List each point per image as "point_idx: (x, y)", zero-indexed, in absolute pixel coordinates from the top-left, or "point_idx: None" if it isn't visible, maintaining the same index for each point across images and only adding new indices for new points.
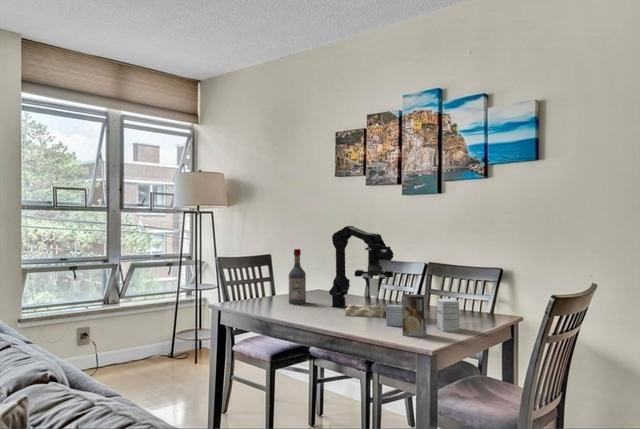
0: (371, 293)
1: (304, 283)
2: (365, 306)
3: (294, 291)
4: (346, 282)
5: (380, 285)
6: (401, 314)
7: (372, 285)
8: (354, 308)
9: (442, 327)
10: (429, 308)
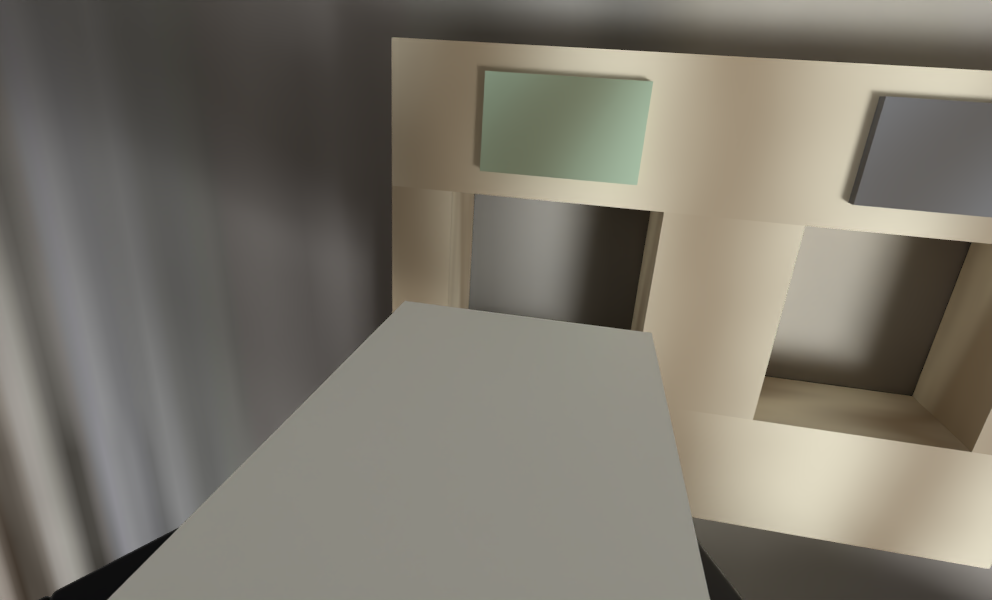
0: (590, 355)
1: None
2: (692, 418)
3: None
4: None
5: (92, 583)
6: None
7: (514, 575)
8: (979, 150)
9: None
10: (8, 570)
